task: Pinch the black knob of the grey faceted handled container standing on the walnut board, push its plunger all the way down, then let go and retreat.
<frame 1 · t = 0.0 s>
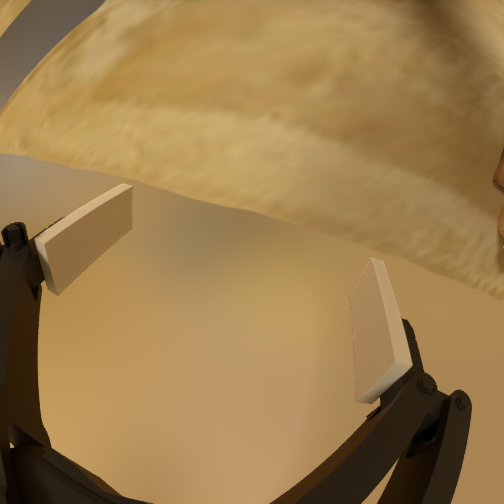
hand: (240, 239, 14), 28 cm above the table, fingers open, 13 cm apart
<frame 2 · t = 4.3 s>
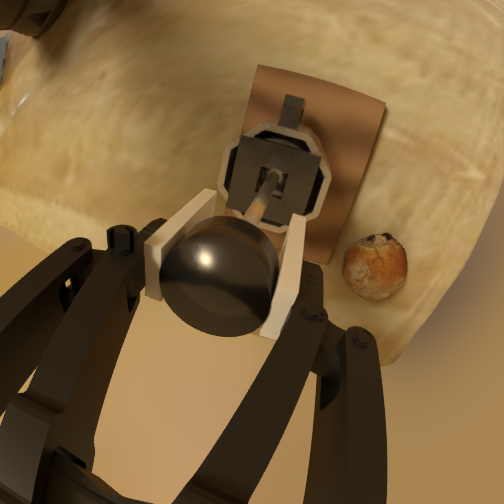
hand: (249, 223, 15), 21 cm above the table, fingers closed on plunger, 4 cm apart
plunger: (257, 208, 17), point 19 cm above the table, slide at 0.0 cm, touching gripper
grey faceted handled container: (284, 157, 32), resting on board
board: (298, 167, 34), on the table
bread roll: (373, 259, 38), on the table
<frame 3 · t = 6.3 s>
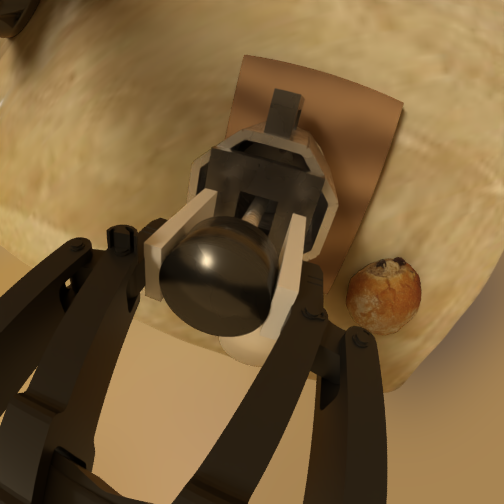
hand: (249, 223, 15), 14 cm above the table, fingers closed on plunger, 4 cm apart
plunger: (257, 208, 17), point 12 cm above the table, slide at 7.0 cm, touching gripper
grey faceted handled container: (278, 169, 27), resting on board
cream egg shape: (267, 295, 37), on the table
board: (295, 181, 28), on the table
bread roll: (382, 285, 32), on the table
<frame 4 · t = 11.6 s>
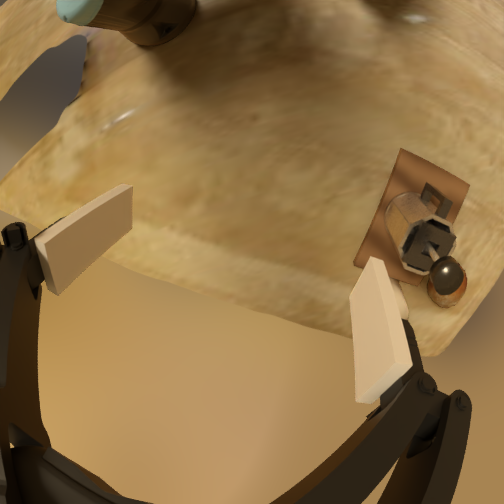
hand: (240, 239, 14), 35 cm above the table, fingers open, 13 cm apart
plunger: (428, 246, 34), point 12 cm above the table, slide at 7.0 cm
grey faceted handled container: (408, 217, 43), resting on board
cream egg shape: (382, 288, 53), on the table
board: (412, 222, 45), on the table
bread roll: (444, 279, 49), on the table
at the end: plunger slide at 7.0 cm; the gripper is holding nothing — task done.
